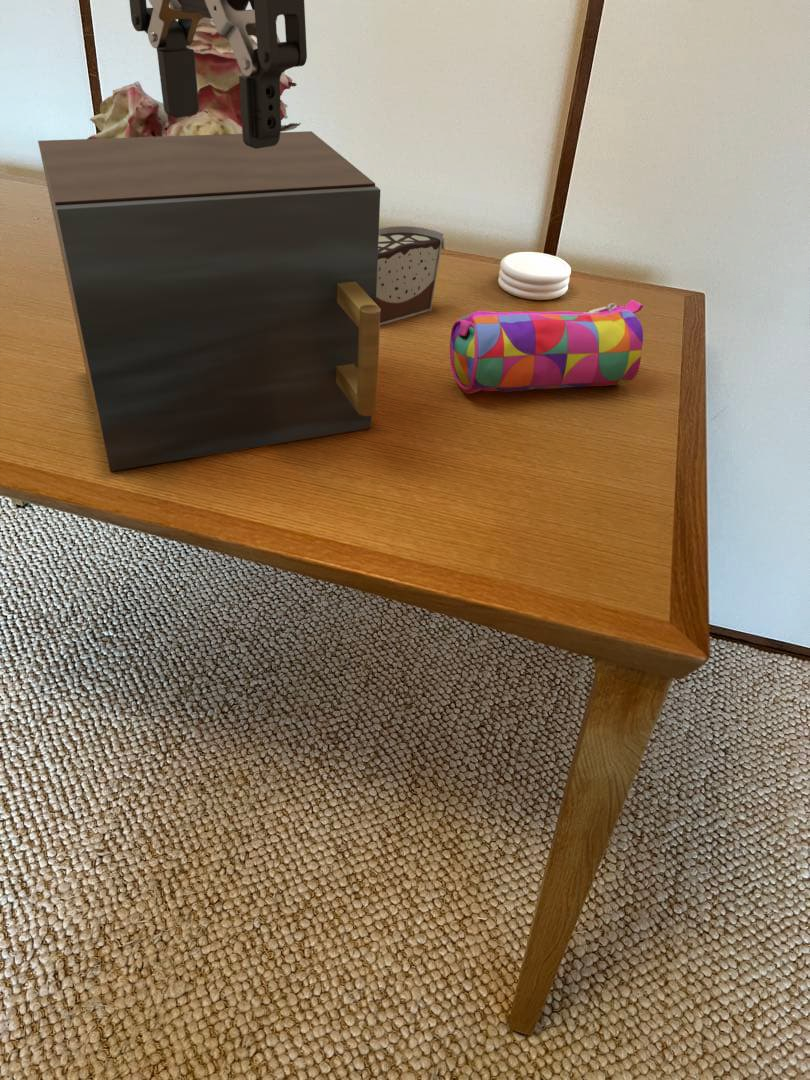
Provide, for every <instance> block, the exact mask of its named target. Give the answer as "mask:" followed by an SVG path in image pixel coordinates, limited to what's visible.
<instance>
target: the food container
mask: <svg viewBox="0 0 810 1080" xmlns="http://www.w3.org/2000/svg"><path fill="white" fill-rule="evenodd" d="M445 245H446V244H445V238H444V233H442V232H441V231H437V230H435V229H430V228H426V227H420V226H413V225H412V226H411V225H392V226H383V227H379V240H378V265H377V290H376V304H377V306H378V307H379V308H380V326H383V325H387V324H390V323H393V322H396V321H400V320H403V319H407V318H411V317H414V316H417V315H420V314H424V313H427V312H432V307H433V301H434V295H435V288H436V283H437V282H436V281H437V276H438V270H439V263H440V257H441V251H442V250H445V249H446V247H445Z"/></svg>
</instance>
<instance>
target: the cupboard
mask: <svg viewBox="0 0 810 1080" xmlns="http://www.w3.org/2000/svg"><path fill="white" fill-rule="evenodd" d="M37 144H38V149H39V152H40V158H41V163H42V166H43V173H44V177H45V182H46V187H47V192H48V195H49V201H50V207H51V210H52V215H53V221H54V225H55V229H56V230H55V231H56V236H57V240H58V243H59V248H60V253H61V258H62V263H63V267H64V273H65V277H66V278H65V279H66V282H67V287H68V292H69V296H70V297H69V298H70V302H71V307H72V311H73V316H74V321H75V326H76V330H77V335H78V336H77V337H78V341H79V346H80V350H81V355H82V359H83V364H84V369H85V375H86V378H87V383H88V387H89V391H90V395H91V398H92V399H91V400H92V403H93V407H94V411H95V416H96V420H97V423H98V428H99V432H100V435H101V440H102V444H103V448H104V453H105V457H106V458H107V455H106V450H105V445H104V440H103V435H102V431H101V426H100V421H99V416H98V411H97V406H96V401H95V396H94V392H93V387H92V382H91V377H90V372H89V367H88V362H87V357H86V352H85V348H84V343H83V338H82V333H81V328H80V323H79V318H78V313H77V309H76V304H75V299H74V294H73V289H72V284H71V279H70V274H69V269H68V265H67V260H66V255H65V250H64V245H63V240H62V235H61V230H60V226H59V221H58V216H57V211H56V205H73V204H89V203H106V202H123V201H139V200H156V199H173V198H189V197H206V196H223V195H240V194H256V193H273V192H290V191H306V190H323V189H340V188H356V187H373V186H376V183H375V181H373V180H372V179H370V178H369V177H368V176H367V175H366V174H364V173H363V171H361V170H360V169H359V168H357V167H356V166H355V165H354V164H352V163H351V162H350V161H349V160H347V159H346V158H345V157H344V156H343V155H342V154H340V153H339V152H338V151H336V150H335V149H334V148H332V146H330V145H329V144H328V143H327V142H325V140H323V139H322V138H321V137H320V136H318V135H317V134H316V133H314V131H311V130H307V131H282V132H280V139H279V142H278V143H277V144H276V145H275V146H269V147H263V148H257V149H255V148H252V147H250V146H247V145H246V144H245V143H244V141H243V134H219V135H190V136H161V137H132V138H103V139H87V138H79V139H76V138H75V139H50V140H49V139H48V140H38V141H37ZM106 461H107V462H108V460H107V459H106Z"/></svg>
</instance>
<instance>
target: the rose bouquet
mask: <svg viewBox="0 0 810 1080" xmlns="http://www.w3.org/2000/svg"><path fill="white" fill-rule="evenodd" d="M249 39H250V41H251V44H252V46H253V49H254V50H255V49H257V41H255V39H253V35H249ZM187 48H190V49H193V50H194V56H195V68H196V79H197V90H198V101H199V110H198V112H197V114H195V115H192V116H185V117H173V116H170V115H168V114H167V113H166V112H165V111H164V106H163V102H161V101H158V100H156V99H154V98H153V97H152V96H151V95H149V93H146V91H145V90H144V89H143V87H142V85H141V83H140V81H134V82H133V83H130V84H127V85H123V86H121V87H119V88H115V89H113V90H112V95H110V96H108V97H106V98H105V99H104V100H103V101H101V103H100V105H99V113H97V114H96V115H93V116H92V117H91V118H89V120H90V121H91V122H92V123H93V124H94V125H95V127H97V129H98V130H99V131H100V132H97V133H95V134H92V135H90V136H89V137H87V138H86V139H103V138H132V137H161V136H190V135H219V134H242V117H241V101H240V84H239V76H245V75H244V74H243V73H242V71H241V69H240V67H239V64H238V62H237V59H236V57H235V55H234V52H233V50H232V47H231V45H230V42H229V41H228V40H227V39H226V38H224V37H222V36H221V35H220V34H219V33H218V31H217V30H216V27H215V25H214V22H213V20H212V19H210V18H206V17H204V18H202V19H200V20H199V22H198V25H197V28H196V31H195V34H194V38H193V41H192V44H191V45H190V46H187ZM297 85H298V84H297V83H296V82H293V79H292V78H291V77H290V76H288V75H287V74H285V72H283V73H282V74H281V77H280V97H281V96H282V95H283V93H284V92H285V90H290V89H291V88H292V87H293V88H294V87H296V86H297ZM280 103H281V109H280V110H281V117H280V118H281V121H283V120H284V119H288V117H289V116H288V115H287V110H288V109H287V108H288V104H286V103H285V102H284V101H283V100H282V99H280ZM301 124H302V123H301V122H299V123H297V122H293V123H292V122H291V123H288V124H287V125H286V124H284V125H282V124H281V132H289V131H293V130H295V129H296V128H298V127H299V126H300V125H301Z"/></svg>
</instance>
